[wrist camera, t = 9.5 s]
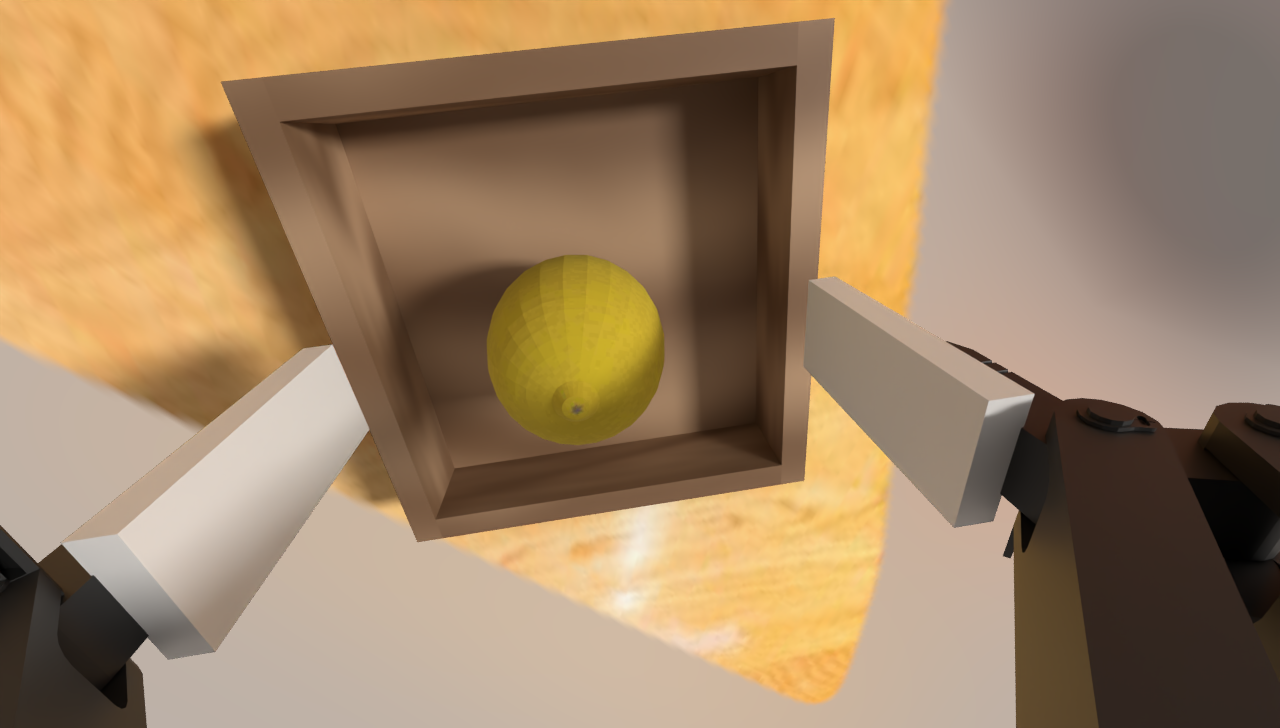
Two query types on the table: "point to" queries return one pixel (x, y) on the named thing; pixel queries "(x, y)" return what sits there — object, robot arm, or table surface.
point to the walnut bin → (561, 252)
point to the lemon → (575, 349)
